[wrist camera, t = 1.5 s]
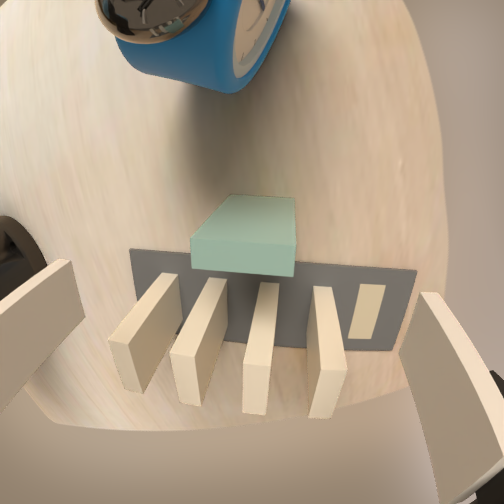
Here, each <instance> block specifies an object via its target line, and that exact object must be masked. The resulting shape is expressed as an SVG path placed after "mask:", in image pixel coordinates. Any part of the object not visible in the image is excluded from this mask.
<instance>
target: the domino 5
mask: <svg viewBox="0 0 504 504" xmlns="http://www.w3.org/2000/svg"><path fill="white" fill-rule="evenodd" d="M306 338H307V376H308V418H325V419H326V418H327V419H330V418H331V416H332V413H333V411H334V408H335V405H336V403H337V400H338V397H339V394H340V391H341V389H342V386H343V383H344V380H345V377H346V374H347V371H348V370H347V364H346V358H345V352H344V347H343V341H342V336H341V330H340V325H339V320H338V315H337V310H336V305H335V300H334V296H333V291H332V287H322V286H313V292H312V299H311V305H310V312H309V318H308V325H307V331H306Z"/></svg>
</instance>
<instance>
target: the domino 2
mask: <svg viewBox="0 0 504 504" xmlns="http://www.w3.org/2000/svg"><path fill="white" fill-rule="evenodd" d="M227 326H228V304H227V279H222V278H211V277H209V279H208V280H207V282H206V284H205V286H204V288H203V290H202V292H201V294H200V295H199V297H198V299H197V301H196V303H195V305H194V307H193V309H192V310H191V312H190V314H189V316H188V318H187V320H186V322H185V324H184V326H183V327H182V329H181V331H180V333H179V335H178V337H177V339H176V341H175V343H174V345H173V347H172V349H171V350H170V352H169V354H170V359H171V364H172V369H173V374H174V379H175V384H176V388H177V393H178V397H179V401H180V403H184V404H189V405H195V406H200V407H201V406H202V403H203V400H204V397H205V394H206V391H207V388H208V385H209V382H210V379H211V376H212V373H213V369H214V366H215V363H216V360H217V357H218V354H219V351H220V348H221V345H222V342H223V339H224V336H225V333H226V330H227Z"/></svg>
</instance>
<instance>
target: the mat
mask: <svg viewBox="0 0 504 504" xmlns="http://www.w3.org/2000/svg"><path fill="white" fill-rule="evenodd" d="M129 252H130V259H131V266H132V272H133V279H134V285H135V291H136V296H137V302H138V301H139V300H140V298H141V297H142V296H143V295H144V294H145V292H146V291H147V290H148V289H149V287H150V286H151V285H152V284H153V283H154V281H155V280H156V279H157V278H158V277H159V276H160V274H161V273H171V274H178V278H179V289H180V298H181V308H182V317H183V320H182V322H181V324H180V326H179V328H178V329H177V331H176V333H175V334H179V333H180V331H181V329H182V327H183V326H184V324H185V322H186V320H187V318H188V316H189V314H190V312H191V310H192V309H193V307H194V305H195V303H196V301H197V299H198V297H199V295H200V294H201V292H202V290H203V288H204V286H205V284H206V282H207V280H208V279H209V277H211V278H222V279H227V304H228V326H227V330H226V333H225V336H224V339H223V341H231V342H240V343H248V339H249V334H250V329H251V325H252V320H253V316H254V311H255V306H256V302H257V297H258V292H259V287H260V283H261V282H268V283H279V295H278V307H277V318H276V330H275V339H274V346H282V347H296V348H307V338H306V331H307V325H308V318H309V312H310V305H311V299H312V292H313V286H322V287H332V291H333V296H334V300H335V305H336V310H337V315H338V320H339V325H340V330H341V336H342V341H343V347H344V350H392V349H393V346H394V344H395V341H396V338H397V336H398V333H399V330H400V327H401V324H402V321H403V318H404V315H405V312H406V309H407V306H408V302H409V299H410V296H411V293H412V289H413V286H414V282H415V278H416V275H417V271H416V270H406V269H391V268H377V267H363V266H349V265H335V264H321V263H308V262H295V264H294V275H293V277H287V276H274V275H262V274H250V273H238V272H226V271H215V270H204V269H193V268H192V266H191V253H179V252H167V251H154V250H142V249H130V250H129Z"/></svg>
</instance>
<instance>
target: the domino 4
mask: <svg viewBox="0 0 504 504" xmlns="http://www.w3.org/2000/svg"><path fill="white" fill-rule="evenodd" d="M278 295H279V283H268V282H261V283H260V287H259V292H258V297H257V302H256V306H255V311H254V316H253V320H252V325H251V329H250V334H249V339H248V343H247V348H246V352H245V357H244V361H243V408H242V413H248V414H257V415H266V409H267V401H268V393H269V384H270V376H271V367H272V358H273V349H274V339H275V330H276V318H277V307H278Z"/></svg>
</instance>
